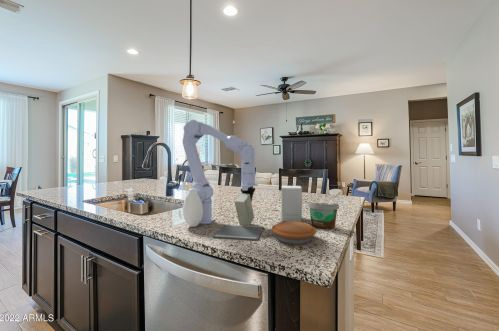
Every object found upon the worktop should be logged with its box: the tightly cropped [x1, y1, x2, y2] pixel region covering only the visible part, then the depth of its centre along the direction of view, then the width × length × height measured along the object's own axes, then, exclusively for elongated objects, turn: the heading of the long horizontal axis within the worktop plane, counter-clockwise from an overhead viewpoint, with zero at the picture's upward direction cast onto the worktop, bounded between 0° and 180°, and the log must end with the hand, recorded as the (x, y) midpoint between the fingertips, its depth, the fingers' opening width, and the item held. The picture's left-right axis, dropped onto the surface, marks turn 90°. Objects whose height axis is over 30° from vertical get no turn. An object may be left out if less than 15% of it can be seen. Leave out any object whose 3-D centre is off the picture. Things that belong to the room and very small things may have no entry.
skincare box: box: [233, 192, 255, 226], centre depth 98 cm, size 6×4×12 cm
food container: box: [307, 200, 340, 230], centre depth 96 cm, size 12×6×10 cm, turn 62°
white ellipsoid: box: [182, 182, 203, 228], centre depth 98 cm, size 8×8×18 cm
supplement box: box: [281, 185, 303, 222], centre depth 109 cm, size 9×9×15 cm
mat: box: [212, 224, 264, 242], centre depth 90 cm, size 16×15×1 cm
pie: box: [271, 221, 318, 245], centre depth 84 cm, size 16×16×5 cm
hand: (248, 205), depth 102 cm, fingers closed
